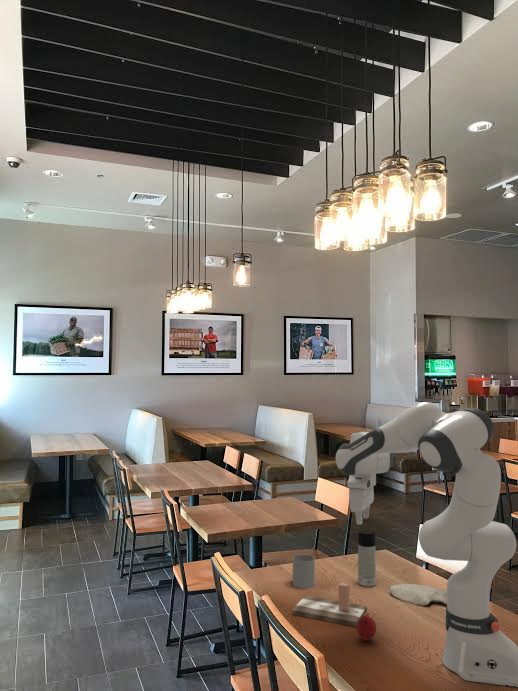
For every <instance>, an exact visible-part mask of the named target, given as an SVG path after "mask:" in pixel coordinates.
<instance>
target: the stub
mask: <svg viewBox="0 0 518 691" xmlns="http://www.w3.org/2000/svg"><path fill="white" fill-rule="evenodd" d="M338 601H339V610H344V611H348V610H349V603H350V583H346V582H340V583H339V584H338Z"/></svg>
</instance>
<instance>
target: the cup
mask: <svg viewBox="0 0 518 691" xmlns="http://www.w3.org/2000/svg"><path fill="white" fill-rule="evenodd" d="M315 568H316V567H315V557H314V556H313V555H309V554H296V555H294V556H293V557H292V586H293V587H295V588H297V589H304V590H306V589H312V588H314V587H315V580H316V578H315Z"/></svg>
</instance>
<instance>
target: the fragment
mask: <svg viewBox="0 0 518 691" xmlns="http://www.w3.org/2000/svg"><path fill="white" fill-rule="evenodd" d="M389 593H390V595H392V596H393V597H395V598H397V599H398V600H399V601H402V602H405V603H407V604H414V605H417V606H422V607H423V606H427V605H429V604H430V603H431V602H433V603H442V604H444V605H447V590H446V589H444V588H439V587H438V588H437V587H433V586H429V585H427V584H417V583H416V584H415V583H413V584H412V583H406V584H405V583H400V584H399V583H398V584H394V585H390V586H389Z"/></svg>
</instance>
